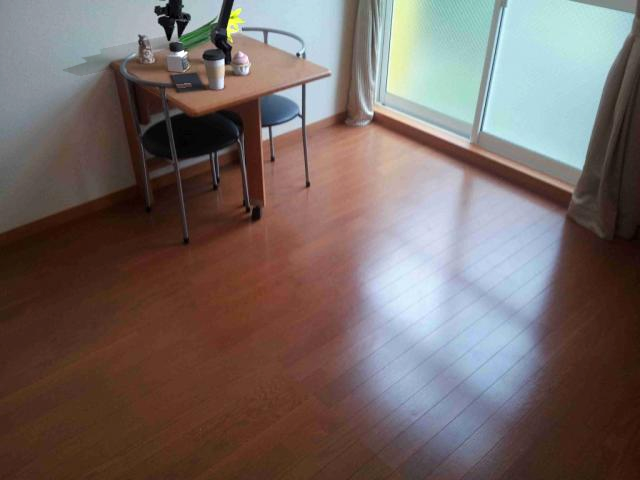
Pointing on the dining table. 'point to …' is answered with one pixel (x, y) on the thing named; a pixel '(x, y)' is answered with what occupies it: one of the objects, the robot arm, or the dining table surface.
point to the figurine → (145, 50)
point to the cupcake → (240, 64)
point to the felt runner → (188, 81)
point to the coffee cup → (214, 68)
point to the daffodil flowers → (209, 31)
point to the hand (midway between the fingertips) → (174, 39)
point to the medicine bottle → (177, 58)
